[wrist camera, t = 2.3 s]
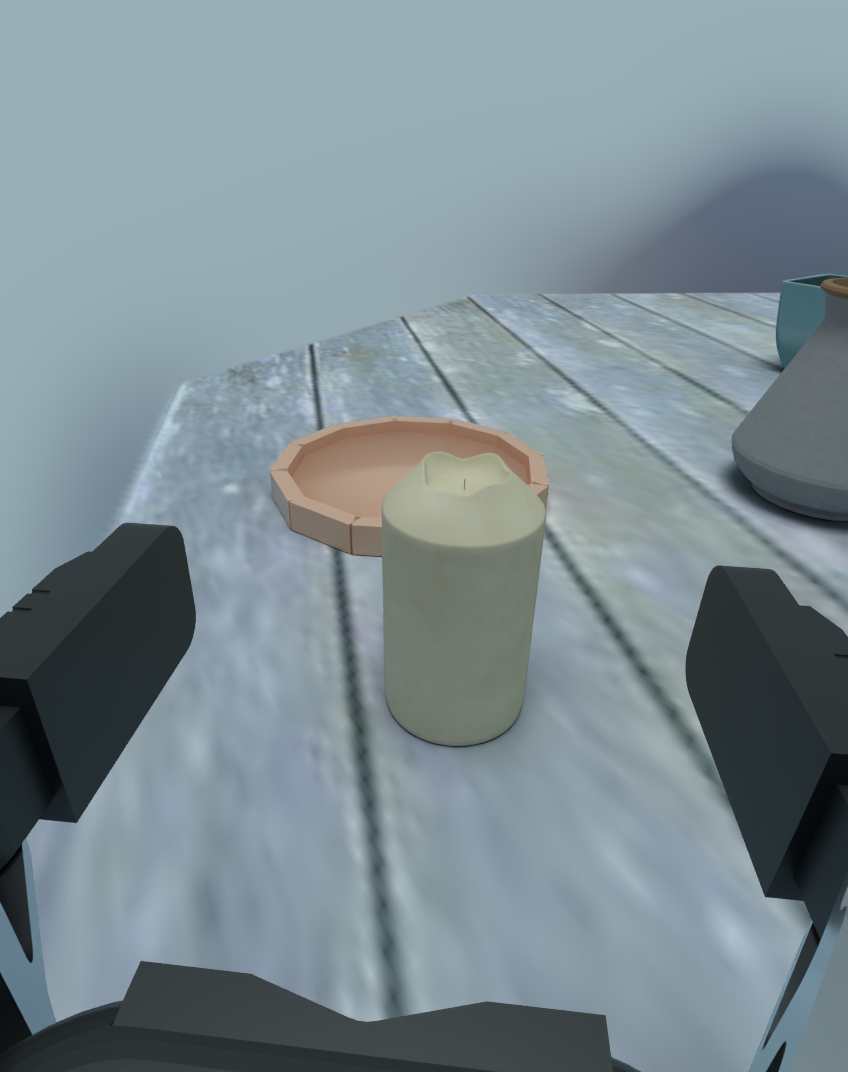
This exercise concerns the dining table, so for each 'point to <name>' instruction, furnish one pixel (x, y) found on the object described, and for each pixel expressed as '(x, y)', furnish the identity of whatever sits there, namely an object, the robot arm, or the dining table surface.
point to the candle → (459, 596)
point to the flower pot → (799, 313)
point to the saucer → (378, 472)
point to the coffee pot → (804, 423)
